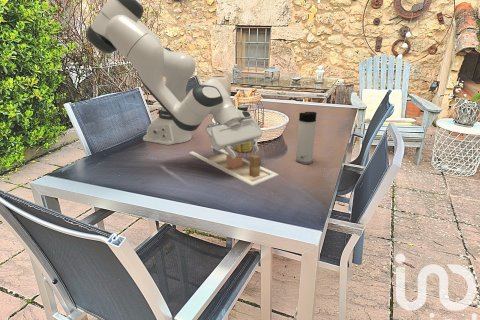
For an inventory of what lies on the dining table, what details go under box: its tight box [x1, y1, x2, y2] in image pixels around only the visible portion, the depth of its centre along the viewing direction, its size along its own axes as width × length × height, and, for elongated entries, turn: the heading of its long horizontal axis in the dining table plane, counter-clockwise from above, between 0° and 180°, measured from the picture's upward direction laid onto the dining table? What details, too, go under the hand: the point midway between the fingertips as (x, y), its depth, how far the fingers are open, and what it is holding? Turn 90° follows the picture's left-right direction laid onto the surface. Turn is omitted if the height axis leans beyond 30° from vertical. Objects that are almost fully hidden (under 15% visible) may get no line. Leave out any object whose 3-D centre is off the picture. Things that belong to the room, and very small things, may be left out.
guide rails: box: [188, 145, 280, 187], centre depth 121 cm, size 38×12×2 cm, turn 40°
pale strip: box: [206, 153, 269, 182], centre depth 117 cm, size 26×8×8 cm, turn 40°
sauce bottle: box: [236, 104, 253, 154], centre depth 131 cm, size 7×6×20 cm
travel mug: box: [295, 111, 318, 165], centre depth 123 cm, size 6×7×20 cm
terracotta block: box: [225, 153, 243, 169], centre depth 118 cm, size 4×4×4 cm
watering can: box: [206, 74, 232, 97], centre depth 212 cm, size 16×27×19 cm, turn 156°
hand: (246, 154), depth 110 cm, fingers open, 8 cm apart
